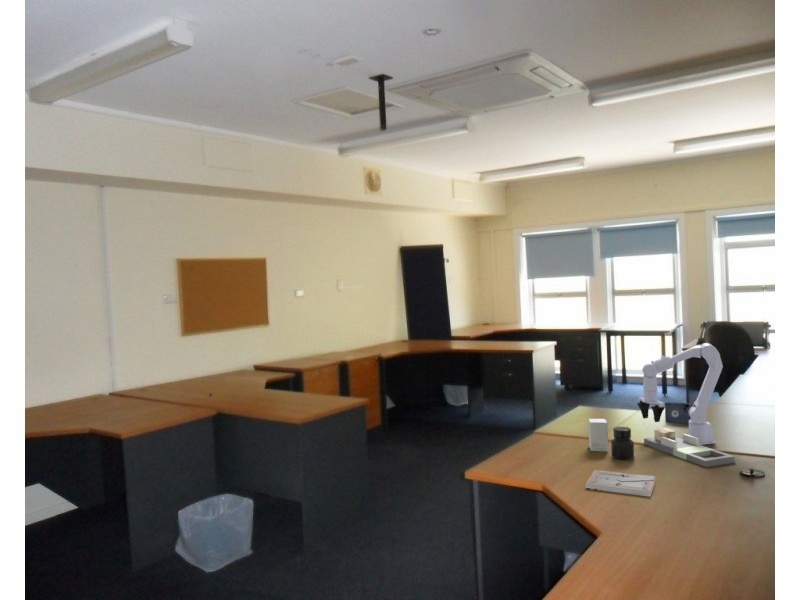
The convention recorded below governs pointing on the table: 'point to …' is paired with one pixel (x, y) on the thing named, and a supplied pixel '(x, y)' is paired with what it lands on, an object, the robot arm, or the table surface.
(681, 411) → the vhs cassette tape
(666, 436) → the birch block
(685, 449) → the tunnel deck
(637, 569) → the table surface
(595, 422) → the supplement box
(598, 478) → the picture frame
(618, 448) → the ink bottle
